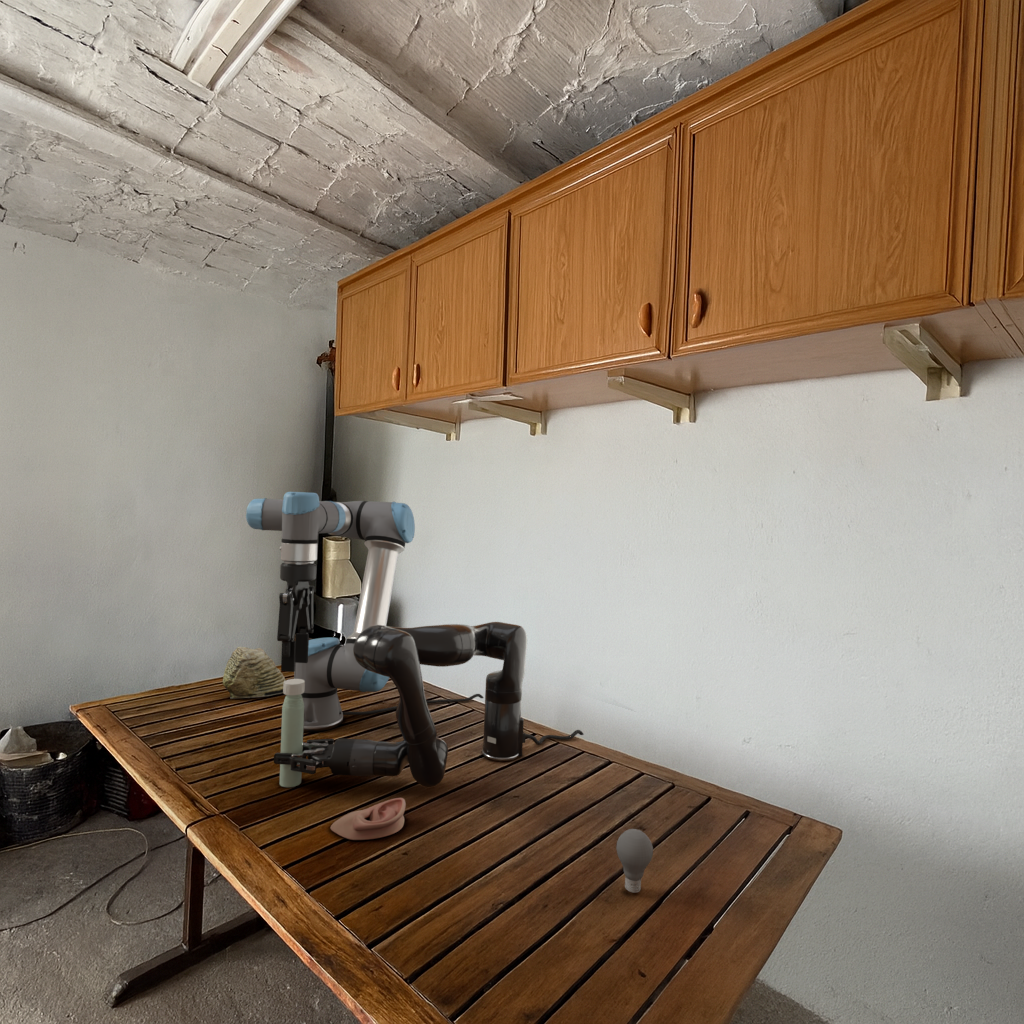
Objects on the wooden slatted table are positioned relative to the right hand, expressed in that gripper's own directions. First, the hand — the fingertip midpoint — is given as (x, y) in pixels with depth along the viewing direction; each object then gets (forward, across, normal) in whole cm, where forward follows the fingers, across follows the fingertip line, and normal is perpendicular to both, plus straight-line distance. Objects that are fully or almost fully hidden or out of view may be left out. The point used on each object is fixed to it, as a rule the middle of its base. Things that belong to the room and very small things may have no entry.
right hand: (279, 753), depth 140 cm
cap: (-3, 0, -16) cm, 16 cm away
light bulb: (-72, +33, +6) cm, 80 cm away
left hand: (-3, 0, -19) cm, 20 cm away
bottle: (-3, 0, +6) cm, 7 cm away
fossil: (+30, -58, +6) cm, 66 cm away
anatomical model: (-24, +17, +6) cm, 30 cm away
